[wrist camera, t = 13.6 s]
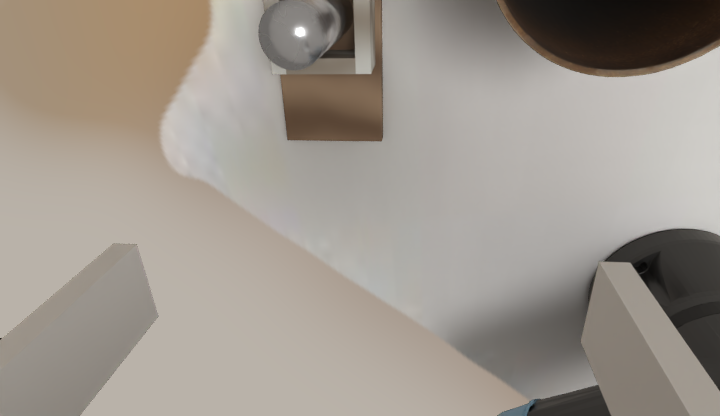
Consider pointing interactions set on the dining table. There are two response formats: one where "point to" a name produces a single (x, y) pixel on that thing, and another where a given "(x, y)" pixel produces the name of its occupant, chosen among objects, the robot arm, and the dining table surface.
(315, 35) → the pin
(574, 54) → the plant pot
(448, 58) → the dining table surface
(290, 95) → the socket board
